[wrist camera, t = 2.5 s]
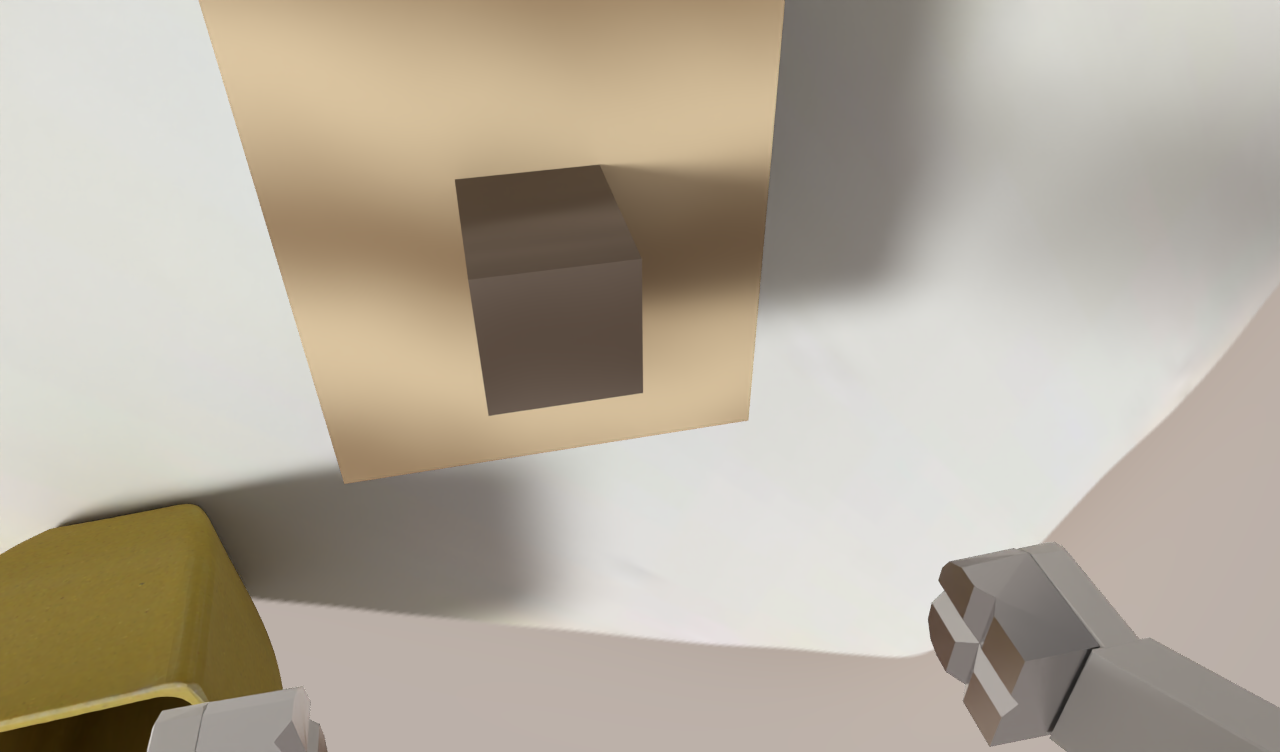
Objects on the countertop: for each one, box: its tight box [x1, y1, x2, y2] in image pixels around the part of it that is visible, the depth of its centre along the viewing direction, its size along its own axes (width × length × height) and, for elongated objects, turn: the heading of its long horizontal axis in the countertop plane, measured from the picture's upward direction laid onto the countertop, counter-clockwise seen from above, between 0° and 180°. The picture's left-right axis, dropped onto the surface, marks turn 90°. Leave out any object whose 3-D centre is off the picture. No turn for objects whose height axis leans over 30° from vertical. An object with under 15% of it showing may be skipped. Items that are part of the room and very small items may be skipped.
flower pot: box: [0, 504, 283, 752], centre depth 28 cm, size 9×9×9 cm
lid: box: [199, 0, 785, 484], centre depth 18 cm, size 13×11×6 cm
